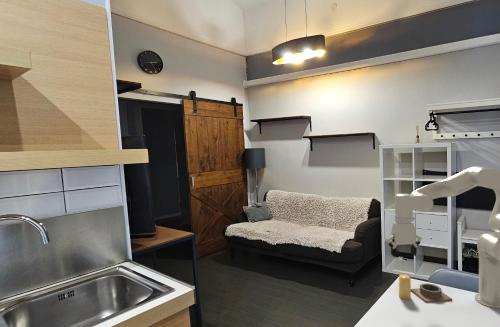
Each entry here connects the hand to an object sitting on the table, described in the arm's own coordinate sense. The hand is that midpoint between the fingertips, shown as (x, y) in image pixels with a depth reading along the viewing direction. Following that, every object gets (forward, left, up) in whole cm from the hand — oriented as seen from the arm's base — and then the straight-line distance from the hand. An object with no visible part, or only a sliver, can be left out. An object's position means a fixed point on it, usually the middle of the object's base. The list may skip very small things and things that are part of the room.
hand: (403, 255), depth 147 cm
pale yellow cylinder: (-1, -1, -21) cm, 21 cm away
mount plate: (-14, -1, -21) cm, 25 cm away
